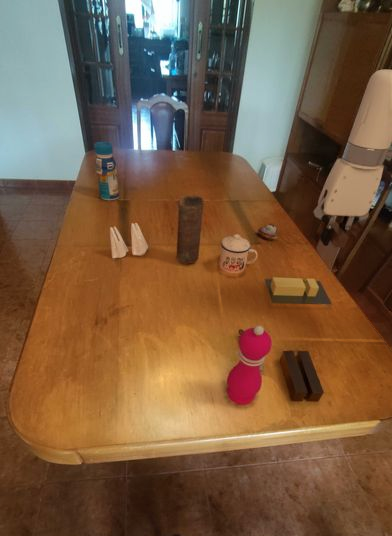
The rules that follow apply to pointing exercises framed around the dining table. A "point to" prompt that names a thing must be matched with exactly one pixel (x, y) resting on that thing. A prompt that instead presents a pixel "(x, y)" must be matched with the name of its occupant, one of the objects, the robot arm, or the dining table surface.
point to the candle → (189, 228)
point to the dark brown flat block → (332, 245)
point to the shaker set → (119, 246)
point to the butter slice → (311, 287)
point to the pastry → (268, 232)
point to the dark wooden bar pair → (301, 376)
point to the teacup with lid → (235, 254)
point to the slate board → (318, 299)
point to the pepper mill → (248, 366)
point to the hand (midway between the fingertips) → (329, 242)
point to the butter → (287, 286)
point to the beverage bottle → (106, 171)
